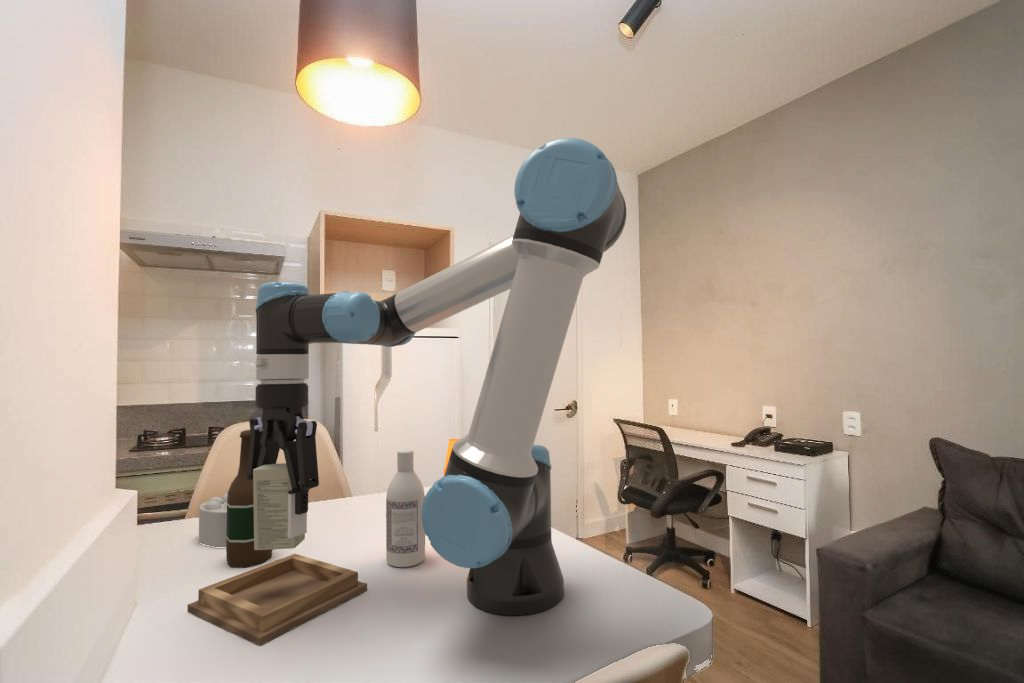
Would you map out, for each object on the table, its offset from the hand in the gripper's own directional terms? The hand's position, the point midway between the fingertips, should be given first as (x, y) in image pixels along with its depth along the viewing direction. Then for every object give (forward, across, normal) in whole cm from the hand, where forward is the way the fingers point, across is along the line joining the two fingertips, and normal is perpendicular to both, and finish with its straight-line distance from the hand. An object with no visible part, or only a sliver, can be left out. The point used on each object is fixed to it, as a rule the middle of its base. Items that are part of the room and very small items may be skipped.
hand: (280, 530), depth 76 cm
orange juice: (+11, +8, +38) cm, 40 cm away
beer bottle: (+11, -20, +7) cm, 24 cm away
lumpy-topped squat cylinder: (+11, -36, +12) cm, 39 cm away
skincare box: (+2, 0, 0) cm, 2 cm away
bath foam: (+11, +6, +21) cm, 24 cm away
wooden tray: (+11, 0, 0) cm, 11 cm away
